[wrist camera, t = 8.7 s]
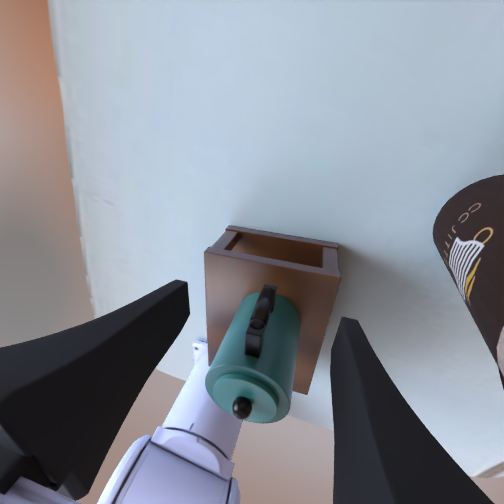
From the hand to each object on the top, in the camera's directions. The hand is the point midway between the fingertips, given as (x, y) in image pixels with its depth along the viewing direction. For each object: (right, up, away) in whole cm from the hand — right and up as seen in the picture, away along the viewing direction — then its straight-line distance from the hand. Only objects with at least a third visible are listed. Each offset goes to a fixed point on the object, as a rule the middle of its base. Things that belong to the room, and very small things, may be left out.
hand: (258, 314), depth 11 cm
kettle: (+1, -2, +6) cm, 7 cm away
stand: (+2, -1, +12) cm, 12 cm away
